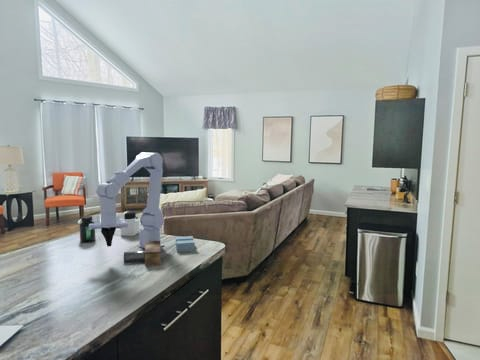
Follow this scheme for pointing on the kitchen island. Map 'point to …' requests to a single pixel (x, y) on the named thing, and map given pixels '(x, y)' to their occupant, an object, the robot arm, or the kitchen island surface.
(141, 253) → the axle
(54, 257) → the kitchen island surface
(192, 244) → the v block
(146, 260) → the beam
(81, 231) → the supplement bottle
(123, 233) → the medicine bottle
